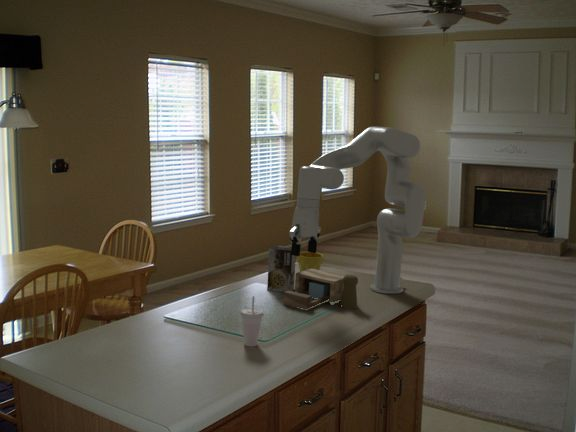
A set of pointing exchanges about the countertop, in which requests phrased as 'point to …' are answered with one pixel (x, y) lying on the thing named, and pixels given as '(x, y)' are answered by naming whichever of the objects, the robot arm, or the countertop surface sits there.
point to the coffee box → (281, 269)
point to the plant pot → (309, 261)
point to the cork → (349, 292)
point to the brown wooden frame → (301, 299)
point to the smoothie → (251, 324)
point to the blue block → (319, 289)
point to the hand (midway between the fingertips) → (303, 253)
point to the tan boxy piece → (323, 276)
